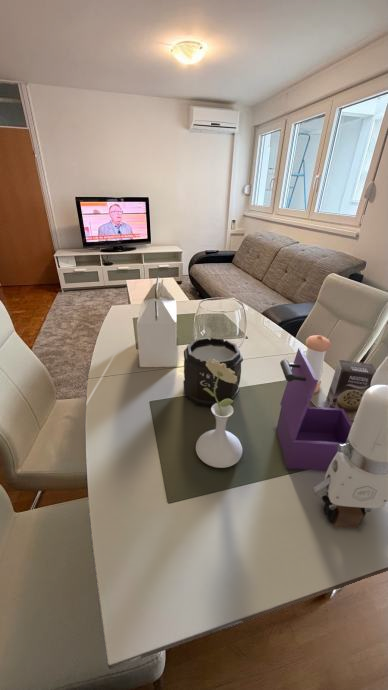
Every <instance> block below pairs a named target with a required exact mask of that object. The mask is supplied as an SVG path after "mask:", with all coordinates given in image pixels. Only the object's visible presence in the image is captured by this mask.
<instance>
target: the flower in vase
mask: <svg viewBox="0 0 388 690" xmlns="http://www.w3.org/2000/svg"><path fill="white" fill-rule="evenodd" d="M206 362H207V363H206V366H207V367H208V369H209V370H210V371H211V372H212V373H213V374H215V376H217V380H216V384H215V387H214V393H212V392H211V391H210V390H209V389H208V388H204V389H203V390H205V391H207V392H208V393H210V394H211V395H212V396H213V397H214V396H215V399H216V401H217V403H216V404H214V405H213V406H212V407H210V410H211V413H212V414H213V415H214V418H215V429H211V430H208V431H205V432H204V433H202V434H201V435H200V436H199V437H198V439H197V440H196V443H195V452H196V455H197V456H198V458H199V459H200V460H201V461H202V462H203V463H204V464H206V465H207V466H209V467H212V468H217V469H225V468H229V467H232V466H234V465H236V464H237V463H238V462H239V461H240V460H241V458H242V456H243V446H242V444H241V441H240V440H239V438H238V437H237V436H236V435H234V434H233V433H232V432H230V431H228V430H226V427H227V422H228V419H229V418H230V417H231V416H233V414H234V408H233V406H232V404H233V403H234V399H233V400H231V399H224V400H223V401H221V402H220V403H219V402H218V400H217V397H216V394H215V389H216V386H217V382H218V379H219V378H220V379H221V380H224V381H225V382H229V383H234V384H235V382H236V381H237V379H236V378H237V377H236V376H235V375H233V374H235V372H234V371H231V369H229V368H226V364H224V363H222V364H220V363H219V362H218V361H216V360H215V359H213V362H214V363H213V362H212V361H211V360H208V361H206Z"/></svg>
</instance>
